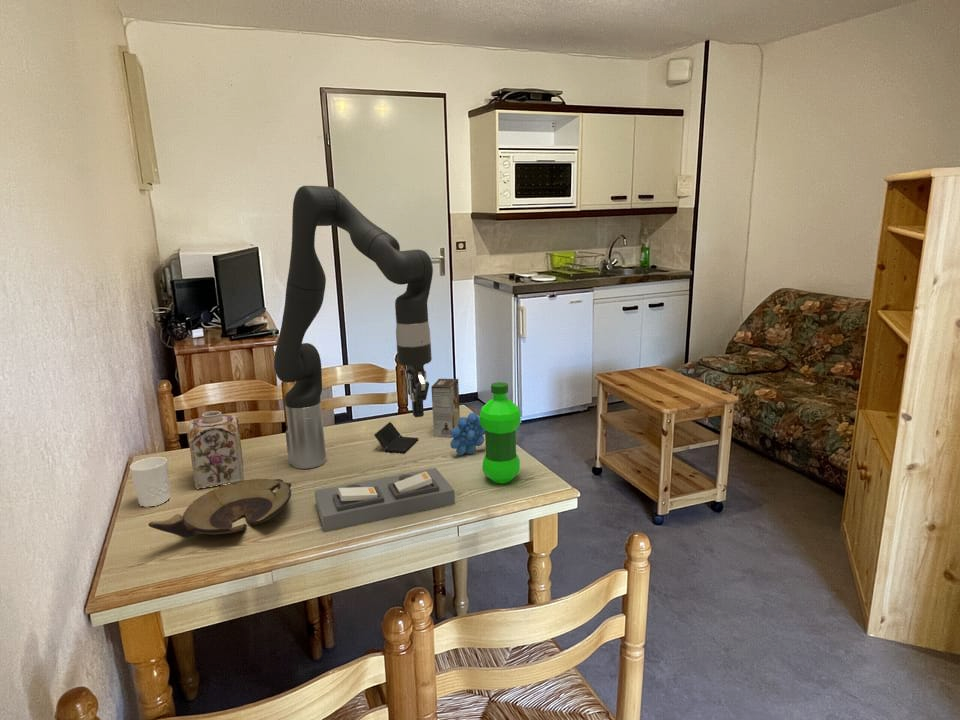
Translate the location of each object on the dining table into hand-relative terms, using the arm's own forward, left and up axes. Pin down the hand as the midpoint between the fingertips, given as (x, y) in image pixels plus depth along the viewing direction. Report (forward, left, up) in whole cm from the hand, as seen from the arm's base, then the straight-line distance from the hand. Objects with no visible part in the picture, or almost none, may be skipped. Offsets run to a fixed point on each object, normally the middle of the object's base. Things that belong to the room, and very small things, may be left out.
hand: (418, 415), depth 138 cm
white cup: (-62, -22, -22) cm, 69 cm away
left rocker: (-11, -10, -16) cm, 22 cm away
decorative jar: (-57, -6, -22) cm, 61 cm away
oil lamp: (-37, -24, -22) cm, 49 cm away
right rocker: (-2, -1, -16) cm, 16 cm away
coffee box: (-15, +44, -22) cm, 51 cm away
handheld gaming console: (-24, +29, -22) cm, 44 cm away
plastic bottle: (+13, +18, -22) cm, 31 cm away
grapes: (-2, +31, -22) cm, 38 cm away
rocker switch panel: (-8, -4, -21) cm, 23 cm away
